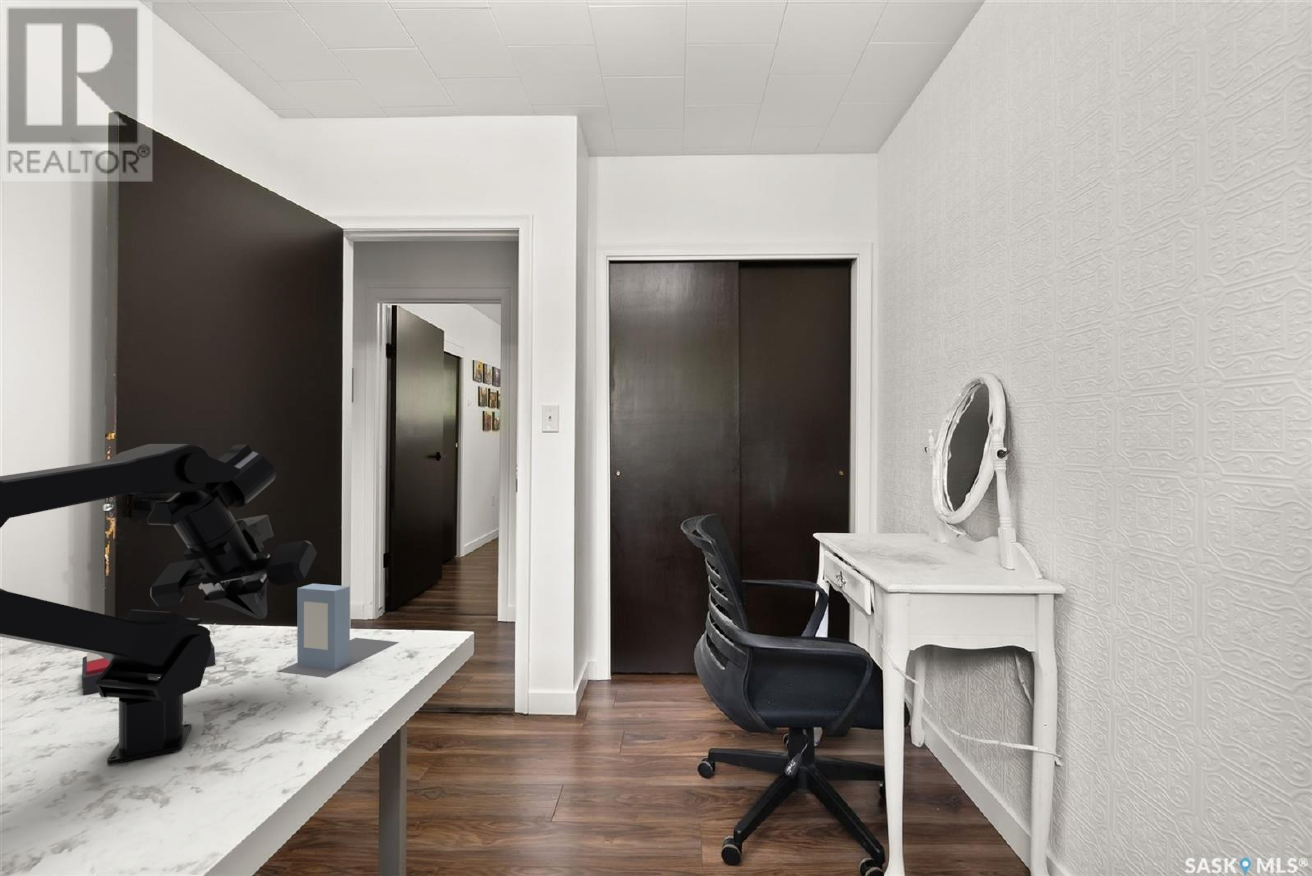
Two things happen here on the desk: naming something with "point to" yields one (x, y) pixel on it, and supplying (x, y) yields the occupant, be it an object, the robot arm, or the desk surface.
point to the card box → (323, 626)
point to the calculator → (97, 664)
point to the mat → (358, 652)
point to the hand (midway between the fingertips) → (263, 616)
